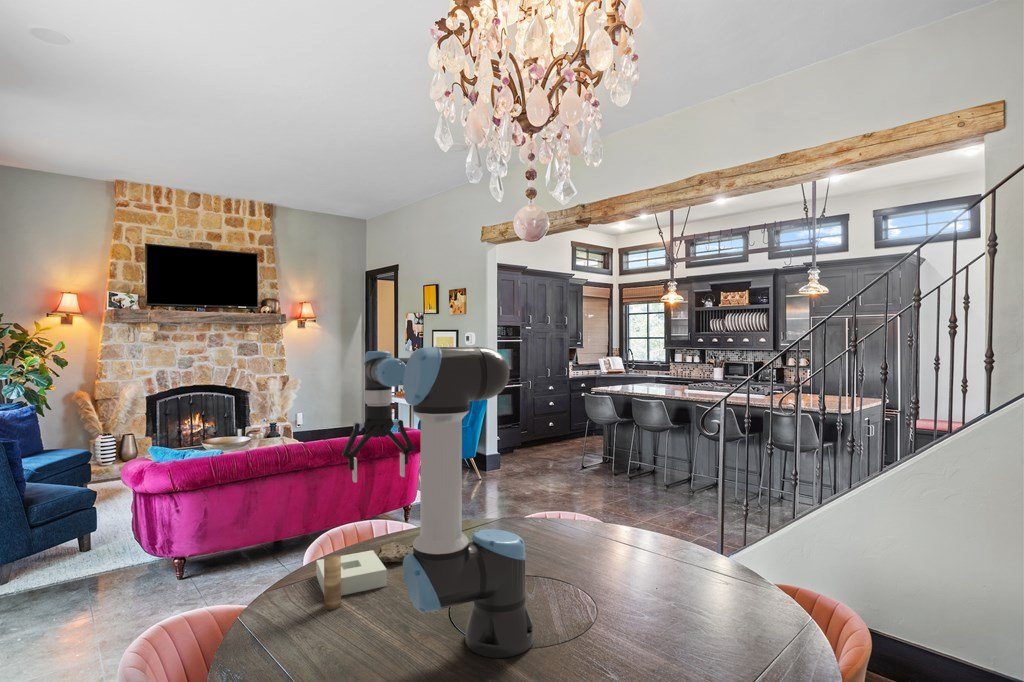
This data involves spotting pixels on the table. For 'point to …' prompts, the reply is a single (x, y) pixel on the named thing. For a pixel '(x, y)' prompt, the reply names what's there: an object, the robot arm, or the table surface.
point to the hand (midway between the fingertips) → (379, 478)
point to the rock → (393, 552)
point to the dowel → (332, 582)
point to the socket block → (357, 572)
